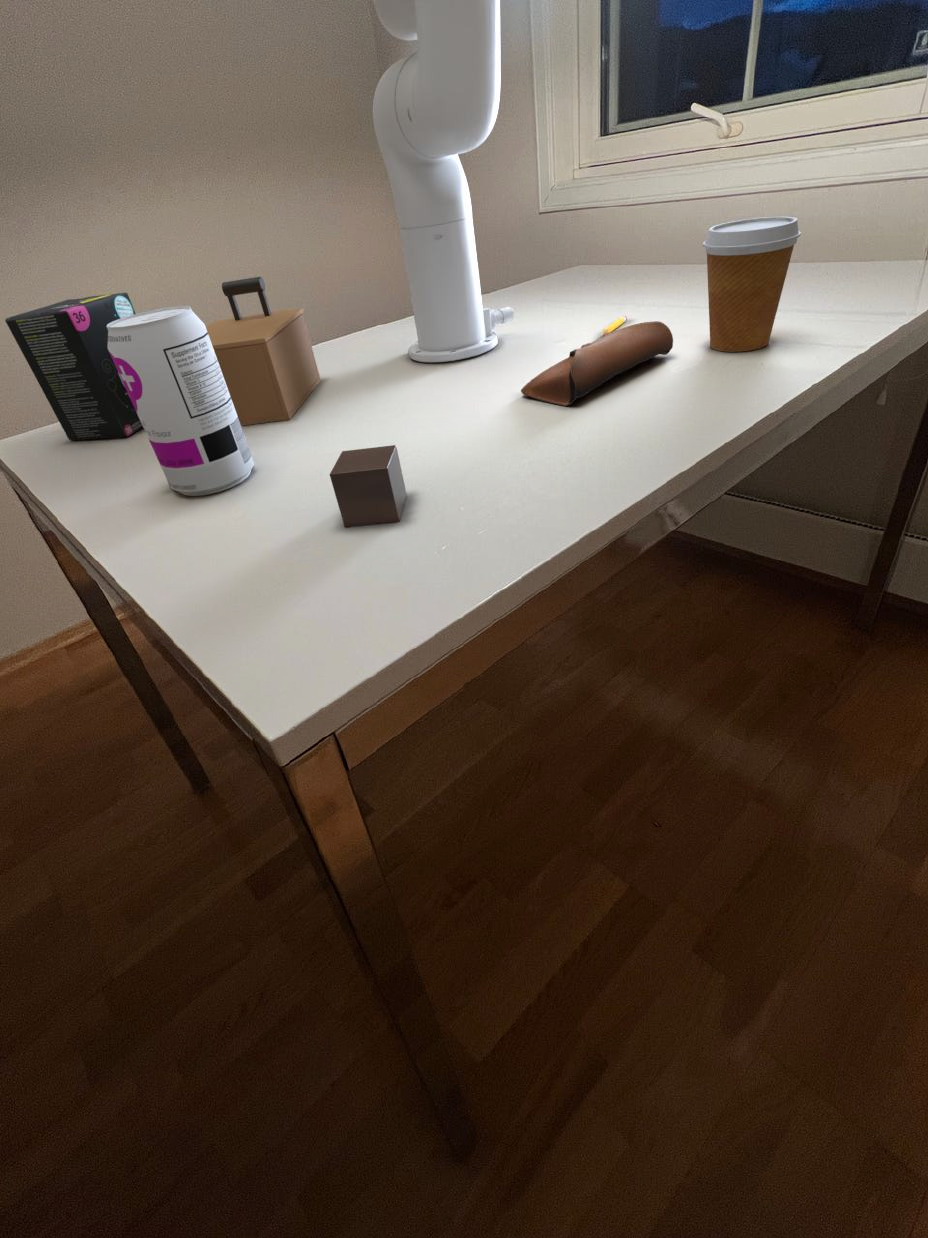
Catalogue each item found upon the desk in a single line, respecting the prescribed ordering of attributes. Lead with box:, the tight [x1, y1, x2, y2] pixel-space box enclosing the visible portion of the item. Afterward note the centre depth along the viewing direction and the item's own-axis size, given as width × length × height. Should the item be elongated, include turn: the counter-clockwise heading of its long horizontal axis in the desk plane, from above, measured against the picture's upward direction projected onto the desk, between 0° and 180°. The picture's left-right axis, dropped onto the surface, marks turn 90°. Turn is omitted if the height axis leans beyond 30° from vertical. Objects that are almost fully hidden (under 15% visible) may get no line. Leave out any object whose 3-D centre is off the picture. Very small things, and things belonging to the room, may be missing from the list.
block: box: [329, 444, 408, 528], centre depth 50 cm, size 4×4×4 cm
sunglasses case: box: [520, 320, 674, 407], centre depth 70 cm, size 18×7×7 cm, turn 135°
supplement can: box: [107, 305, 255, 497], centre depth 58 cm, size 8×8×15 cm
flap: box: [205, 276, 305, 350], centre depth 75 cm, size 16×12×5 cm
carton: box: [214, 313, 322, 427], centre depth 79 cm, size 15×12×9 cm
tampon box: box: [4, 292, 143, 441], centre depth 79 cm, size 11×9×15 cm
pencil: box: [600, 315, 628, 337], centre depth 86 cm, size 1×9×1 cm, turn 148°
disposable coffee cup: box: [702, 216, 802, 353], centre depth 70 cm, size 10×10×12 cm
